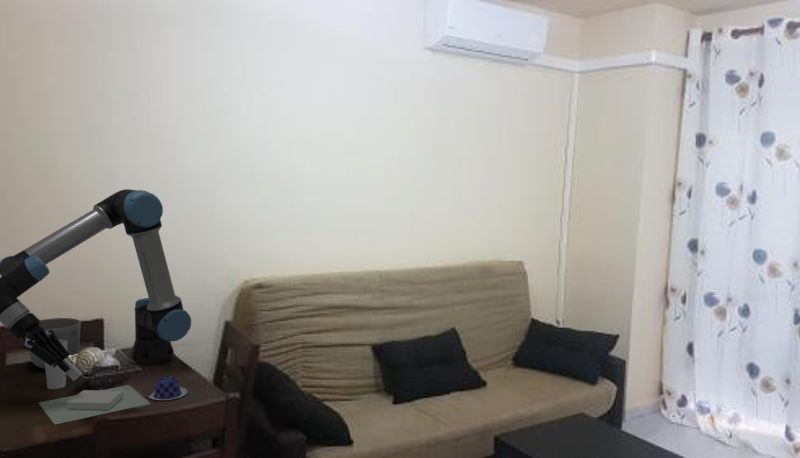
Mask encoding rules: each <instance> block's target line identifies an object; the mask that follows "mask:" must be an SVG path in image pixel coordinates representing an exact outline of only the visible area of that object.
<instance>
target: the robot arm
mask: <svg viewBox="0 0 800 458" xmlns="http://www.w3.org/2000/svg"><path fill="white" fill-rule="evenodd" d="M163 213H164V208H163V204H162V202H161V200H160V199H159V198H158V196H156V195H155V194H153V193H152V192H149V191H146V190H143V189H141V190H140V189H139V190H138V189H137V190H136V189H129V188H128V189H121V190H119V191H117V192H114V193H113V194H111V195H109V196H108V197H106V198H104V199H103V200H101V201H100V202H98V203H96V204H94V205H93V208H92V210H90V211H88V212H87V213H85V214H83V215H82V216H80V217H78V218H77V219H74V220H73V221H71V222H69V223H68V224H66V225H64V226H62V227H61V228H59V229H58V230H55V231H54V232H52V233H50V234H49V235H48V236H45V237H44V238H42V239H40V240H39V241H37V242H35V243H33V244H32V245H30V246H28V247H27V248H25V249H23V250H21V251H20V252H18V253H16V254H14V255H9V256H5V257H3V258H2V259H0V276H1V277H0V323H1V325H3V326H4V327H5V328H6V329H9V332H10V333H11V334H12V335H13V336H14V337H15V338H16V339H19V340H20V339H22V340H23V341H24V342H25V343H23V345H22V348H23V349H25V350H27V351H28V352H29V351H31V352H32V353H33V354H35V355H36V356H37V357H39V358H40V359H42V360H43V361H44V362H46V363H47V364H48V365H50V366H52V365H54V366H52V367H56V366H58V367H59V368H60V369H61V370H63V371H64V372H65V373H66V376H68V377H69V379H71V380H72V381H73V382H74V381H76V380H77V379H78V378H79V377H80V376H82V375H83V372H82V371H81V370H80V369H79V368H78V367H76V366H75V364H74V363H73V362H72V363H71V362H70V361H69V360H68V359H67V357H68V356H69V353H68V352H67V350H66V349H65V348H64V346H63V345H62V344H61V343H60V341H59V340H58V339H57V337H56V336H55V334H54V332H53V330H50V331H45V330H44V329H43V328H42V327H40V326H39V323H40V320H41V319H39V318H38V316H36V315H35V314H34V313H32V312H31V310H30V309H29V308H28V307H27V306H26V305H25V304H24V303H22V301H20V299H18V298H19V297H20V296H22V295H23V294H24V293H26V292H27V291H29V290H30V289H31V288H33V287H34V286H35V285H37V284H38V283H39V282H41V281H43V279H45V278H46V277H47V276H48V275H49V274H50V269H49V266H47V265H48V264H49V263H51V262H53V261H55V260H56V259H57V258H59V257H61V256H62V255H64V254H66V253H68V252H69V251H71V250H72V249H74V248H76V247H77V246H79V245H81V244H82V243H84V242H85V241H87V240H90V239H91V238H93V237H94V236H96V235H97V234H99V233H101V232H103V231H104V230H105V229H109V230H111V229H113V228H115V227H116V226H117V227H118V226H120V225H122V224H123V227H124V230H125V234H126V235H128V236H129V237H131V238H132V241H133V246H134V250H135V253H136V256H137V259H138V264H139V267H140V271H141V274H142V278H143V282H144V286H145V290H146V293H147V297H146V298H145V297H144V298H140V299H137V300H136V301H135V304H134V306H135V307H134V323H135V326H134V327H135V329H134V331H135V338H134V342H133V346H132V349H131V351H130V355H129V357H130V358H131V359H132V360H133V361H134V362H136V363H137V365H145V366H146V365H159V364H163V363H168V362H171V361H172V360H174V358H175V351H174V348H173V345H172V342H177V341H179V340H182V339H183V338H184V337H185V336H186V335H187V334H188V333H189V330H191V326H192V318H191V315H190V313H188V311H187V310H185V309H184V307H183V303H182V299H181V297H180V296H178V295H176V294H175V293H176V292H175V290H174V285H173V282H172V279H171V275H170V271H169V266H168V264H167V259H166V255H165V251H164V248H163V243H162V240H161V236H160V230H161V228H162V226H163V225H162V221H161V218H162V216H163Z"/></svg>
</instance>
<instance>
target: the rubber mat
mask: <svg viewBox="0 0 800 458" xmlns="http://www.w3.org/2000/svg"><path fill="white" fill-rule="evenodd" d="M99 391H123V398H122V399H121V400H119V401H118V402H117V403H116V404H115V405H114V406H112V407H111V408H110V409H109V410H88V409H67V402H68V401H69V400H71V399H72V398H73V397H75V396H76V395H77V394H75V395H71V396H66V397H60V398H54V399H50V400H45V401H40V402H38V405H40V407H41V408H42V410H43V411H44V412H45V413H46V415H47V416H48V417H49V419H50V420H51V422H52V423H53V424H54V425H59V424H64V423H68V422H69V423H70V422H73V421H78V420H81V419H82V420H83V419H86V418H90V417H96V416H100V415H101V416H102V415H105V414H109V413H113V412H118V411H123V410H128V409H133V408H136V409H140V407H141V408H146V407H150V406H151V405H152V404H151V402H150V401H149V400H147V399H146V398H145V397H144V396H142V395H141V394H140V393H139V392H138V391H137V390H136V389H134V388H133V387H132V386H131V385H129V384H127V385H120V386H117V387H111V388H107V389H102V390H99ZM145 406H146V407H145Z"/></svg>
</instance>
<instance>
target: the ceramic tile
mask: <svg viewBox="0 0 800 458" xmlns="http://www.w3.org/2000/svg"><path fill="white" fill-rule="evenodd" d="M75 395H76V396H75ZM75 395H74V396H75V397H73V398H72V399H71V400H69V401H68V402H67V409H88V410H109V409H110V408H111V407H112V406H114V405H115V404H116V403H117V402H118V401H119V400H121V399H122V398H123V391H100V390H96V389H95V390H93V389H92V390H91V389H90V390H89V389H87V390H86V389H84V390H81V391H80V392H78V394H75Z"/></svg>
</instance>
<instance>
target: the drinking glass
mask: <svg viewBox="0 0 800 458" xmlns="http://www.w3.org/2000/svg"><path fill="white" fill-rule="evenodd" d="M59 341H60V343H61V344H62V345H63V346H64V348H65V349H66V350H67V352H68V344H67V341H66V340H59ZM67 358H68V357H67ZM52 366H54V365H52ZM52 366H50V365H48V364H47V363H46V362H45V377H46V388H47V389H48V390H58V389H59V390H60V389H62V388H65V387H66V386H67V374H66V373H65V372H64V371H63V370H61V369H60V368H59V367H58V366H56V367H52Z"/></svg>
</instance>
